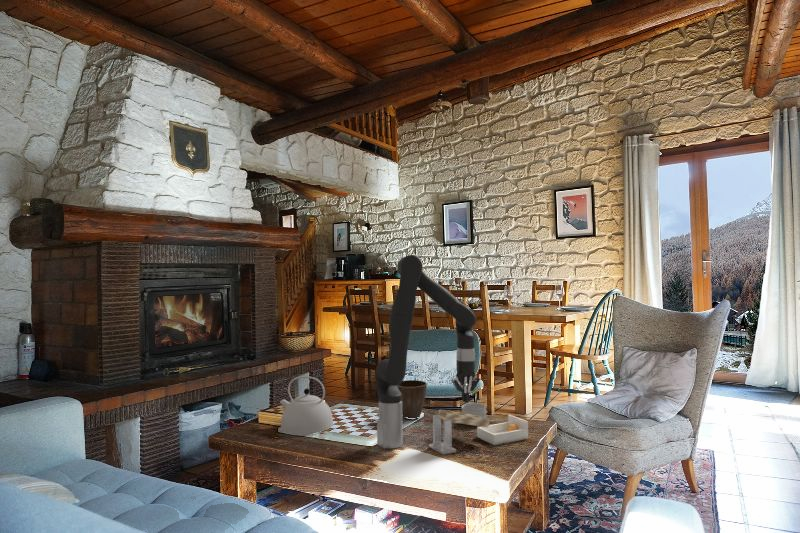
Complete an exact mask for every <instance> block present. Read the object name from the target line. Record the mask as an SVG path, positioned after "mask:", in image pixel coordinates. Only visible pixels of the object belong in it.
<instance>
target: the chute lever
mask: <svg viewBox="0 0 800 533" xmlns="http://www.w3.org/2000/svg"><path fill="white" fill-rule="evenodd" d="M437 415H438V418H441V420H442V421H443V420H449V419H450V420H451V421H452V423H457V424H463V425H468V426H469V425H470V426H476V427H488V425H490V419H487V418H486V419H482V418H481V416H476V415H470V414H464V413H462V412H456V411H453V410H452V411H451V410H447V409H439V410H438V414H437Z"/></svg>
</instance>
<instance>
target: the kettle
mask: <svg viewBox="0 0 800 533" xmlns="http://www.w3.org/2000/svg"><path fill="white" fill-rule="evenodd" d="M299 379H312V380H314V381H316V382H317V383H319V384H320V386H321V389H322V394H323V395H322V397H321V398H320V397H319V396H316V395H311V394H310V392H311V391H310V388H305V389H304V390H303V394H304V395H299V396H297V397H295V398H294V399H293V397H292V395H291V391H290V390H291V384H293V382H294V381H295V380H299ZM287 386H288V387H287V394H288V396H289V398H290V402H289V401H288V400H286V399H282V400H280V401H279V403H280V404H281V405H282V406H283V407H284V410H283V413H282V415H281V420H280V431H281V432H282V433H284V434H287V435H291V436H311V435H310V434H313V433H316V432H320V431H324V430H327V429H329V428H331V427H332V426H333V427H334V418H333V414H332V410H331V409H330V406H329V404H327V402H325V401H324V399H325V396H326V390H325V386H324V384H323V383H322V381H320V379H318V378H316V377H313V376H310V375H309V376H308V375H304V376H303V375H302V376H301V375H300V376H296V377H294V378H292V379H291V380H290V381H289V383H288V385H287ZM313 435H314V434H313Z"/></svg>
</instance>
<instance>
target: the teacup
mask: <svg viewBox="0 0 800 533" xmlns="http://www.w3.org/2000/svg"><path fill="white" fill-rule="evenodd" d="M486 409H487V405H486V404H484V403H479V402H470V401H469V402H466V403H464V404H462V405H461V413H464V414H470V415H476V416H481V418H482V419H487V410H486Z"/></svg>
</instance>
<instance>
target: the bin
mask: <svg viewBox="0 0 800 533" xmlns="http://www.w3.org/2000/svg"><path fill="white" fill-rule="evenodd" d="M510 424H514V425H516V426H517V428H518V430H515V431H509V432H508V426H509V425H510ZM476 438H478V439H480V440H483V441H484V442H486V443H489V444H490V445H493V446H497V445H503V443H504V444H509V443H513V442H519V441H523V440H524V439H525V440H528V439H529V421H528V420H525V419H523V418H520V417H517V416H514V415H512V414H508V415H507V421H506V422H499V423H495V424H489V425H488V427H481V426H476Z"/></svg>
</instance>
